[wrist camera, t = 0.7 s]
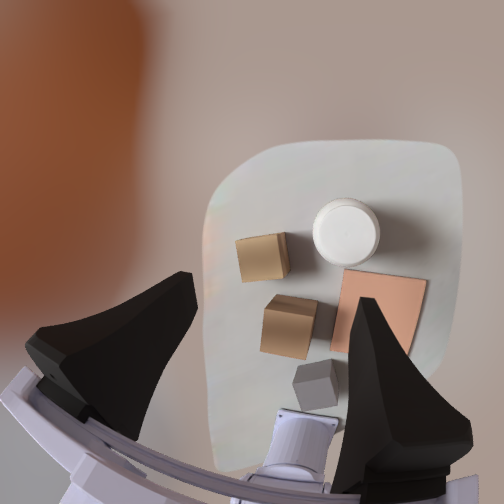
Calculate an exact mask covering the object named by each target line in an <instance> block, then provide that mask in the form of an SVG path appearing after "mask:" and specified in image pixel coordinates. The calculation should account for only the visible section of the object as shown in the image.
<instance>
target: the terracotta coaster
mask: <svg viewBox="0 0 504 504" xmlns="http://www.w3.org/2000/svg"><path fill="white" fill-rule="evenodd" d="M425 286H426V280H424V279H417V278H409V277H402V276H394V275H387V274H379V273H372V272H364V271H357V270H349V269H344V275H343V282H342V288H341V294H340V300H339V305H338V311H337V316H336V321H335V326H334V331H333V336H332V341H331V346H330V351H337V352H344V353H348V351H349V339H350V331H351V327H352V324H353V320H354V317H355V313H356V310H357V306H358V302H359V299H360V296H361V297H370V298H375V300H376V301H377V303H378V305H379V307H380V309H381V311H382V313H383V315H384V317H385V319H386V320H387V322H388V324H389V326H390V328H391V329H392V331H393V333H394V335H395V336H396V338H397V340H398V341H399V343H400V345H401V346H402V348H403V349H404V351H405V353H406V354H408V351H409V348H410V345H411V342H412V338H413V335H414V331H415V328H416V324H417V320H418V317H419V313H420V309H421V304H422V300H423V296H424V291H425Z"/></svg>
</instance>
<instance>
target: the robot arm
mask: <svg viewBox="0 0 504 504" xmlns="http://www.w3.org/2000/svg"><path fill="white" fill-rule="evenodd" d="M197 309H198V305H197V299H196V294H195V288H194V282H193V276H192V273H188V272H182V271H180V272H177V273H175V274H173V275H172V276H170V277H168V278H166V279H165V280H163V281H161V282H160V283H158V284H156V285H155V286H153V287H151V288H149V289H148V290H146V291H144V292H143V293H141V294H139V295H137V296H135V297H133V298H132V299H129V300H128V301H126V302H124V303H122V304H120V305H118V306H116V307H114V308H111V309H109V310H106V311H104V312H101V313H99V314H96V315H93V316H90V317H87V318H84V319H81V320H77V321H74V322H69V323H65V324H60V325H54V326H47V327H41V328H39V329H38V330H37V331H36V333H35V334H34V335H33V336H32V337H31V338H30V339H29V340H28V341H27V342H26V343H25V348H26V350H27V352H28V354H29V355H30V357H31V358H32V360H33V361H34V362H35V364H36V365H37V366H38V368H39V369H40V370H41V372H42V373H43V374H44V377H43V378H42V379H41V378H40V377H39V376H38V375H36V374H35V373H34V372H33V371H32V370H31V369H29V368H28V367H27V366H24V367H23V368H22V369H21V371H20V372H19V373H18V374H17V375H16V377H15V378H14V379H13V380H12V381H11V383H10V384H9V385H8V386H7V388H6V389H5V390H4V391H3V393H2V394H1V395H0V401H1V402H2V403H3V404H4V406H5V407H6V408H7V409H8V410H9V411H10V413H11V414H12V415H13V416H14V417H15V418H16V420H17V421H18V422H19V423H20V424H21V425H22V426H23V427H24V429H25V430H26V431H27V432H28V433H29V434H30V435H31V436H32V437H33V438H34V440H35V441H36V442H37V443H38V444H39V445H40V446H41V447H42V448H43V449H44V450H45V451H46V452H47V453H48V454H49V455H51V456H52V457H53V458H54V459H55V460H56V461H57V462H58V463H59V464H60V465H61V466H63V467H64V468H65V469H66V470H67V471H69V472H70V473H71V475H70V480H71V484H70V486H69V488H68V489H67V491H66V492H65V494H64V496H63V498H62V499H61V501H60V503H59V504H207V503H204V502H201V501H198V500H196V499H193V498H190V497H188V496H185V495H182V494H180V493H177V492H174V491H172V490H170V489H168V488H165V487H162V486H160V485H158V484H156V483H154V482H152V481H149V480H147V479H145V478H146V476H147V475H146V473H144V472H143V471H141V470H139V469H138V468H136V467H135V466H134V465H132V464H131V463H129V462H128V461H127V460H126V459H125V458H123V457H122V456H120V455H118V454H117V453H115V452H114V451H112V450H111V448H112V449H114V450H116V451H118V452H120V453H122V454H123V455H125V456H127V457H129V458H131V459H133V460H135V461H137V462H139V463H141V464H143V465H145V466H147V467H149V468H151V469H154V470H156V471H158V472H160V473H163V474H165V475H167V476H170V477H172V478H175V479H177V480H180V481H182V482H185V483H188V484H191V485H193V486H196V487H200V488H202V489H205V490H209V491H212V492H215V493H218V494H222V495H225V496H229V497H231V501H230V504H478V494H479V491H478V490H479V488H478V487H479V486H478V485H479V484H478V475H477V474H475V475H472V476H468V477H464V478H460V479H455V480H452V481H449V482H446V476H447V475H449V474H450V465H451V464H453V463H454V462H456V461H457V460H459V459H460V458H462V457H463V456H464V455H466V454H467V453H468V452H469V451H470V450H471V449H472V447H473V435H472V428H471V423H470V420H468V419H467V418H466V417H465V416H463V415H462V414H461V413H460V412H459V411H457V410H456V409H455V408H454V407H452V406H451V405H450V404H449V403H448V402H447V401H446V400H445V399H444V398H443V397H442V396H441V395H440V394H439V393H438V392H437V391H436V390H435V389H434V388H433V387H432V386H431V385H430V384H429V382H428V381H427V380H426V379H425V378H424V377H423V375H422V374H421V373H420V372H419V371H418V369H417V368H416V367H415V365H414V364H413V363H412V361H411V360H410V358H409V357H408V356H407V354H406V353H405V351H404V349H403V348H402V346H401V345H400V343H399V341H398V340H397V338H396V336H395V335H394V333H393V331H392V329H391V328H390V326H389V324H388V322H387V320H386V319H385V317H384V315H383V313H382V311H381V309H380V307H379V305H378V303H377V301H376V300H375V298H370V297H361V296H360V299H359V302H358V306H357V310H356V313H355V317H354V320H353V324H352V327H351V331H350V339H349V351H348V368H349V400H348V412H347V419H346V426H345V432H344V437H343V443H342V448H341V452H340V457H339V462H338V465H337V469H336V473H335V477H334V481H333V484H332V485H331V484H330V483H329V482H325V484H324V487H323V482H324V477H325V475H324V469H325V463H326V457H327V450H328V448H329V445H330V443H331V440H332V438H333V436H334V433H335V430H336V428H337V425H338V422H339V420H338V419H337V418H331V417H324V416H317V415H311V414H305V413H299V412H294V411H289V410H284V409H279V410H278V412H277V418H276V422H275V427H274V432H273V437H272V442H271V446H270V449H269V452H268V454H267V457H266V459H265V461H264V464H263V466H262V467H258V468H257V470H256V472H255V474H253V473H247V474H246V475H244V476H243V477H241V478H240V479H239V480H238V479H235V478H231V477H227V476H223V475H220V474H216V473H213V472H210V471H207V470H204V469H201V468H198V467H194V466H192V465H189V464H186V463H184V462H181V461H178V460H176V459H173V458H171V457H168V456H166V455H163V454H161V453H159V452H156V451H154V450H152V449H150V448H147V447H145V446H143V445H141V444H139V443H137V442H135V441H137V440H138V437H139V433H140V430H141V427H142V423H143V420H144V417H145V414H146V411H147V408H148V406H149V403H150V400H151V398H152V395H153V393H154V390H155V388H156V386H157V383H158V381H159V379H160V377H161V375H162V372H163V370H164V369H165V367H166V365H167V363H168V361H169V360H170V358H171V357H172V355H173V353H174V352H175V350H176V349H177V347H178V345H179V344H180V342H181V341H182V339H183V337H184V336H185V334H186V332H187V331H188V329H189V327H190V326H191V323H192V321H193V319H194V317H195V314H196V312H197ZM280 415H282V416H280ZM333 424H335V425H333ZM110 447H111V448H110ZM322 489H323V490H322Z"/></svg>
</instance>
